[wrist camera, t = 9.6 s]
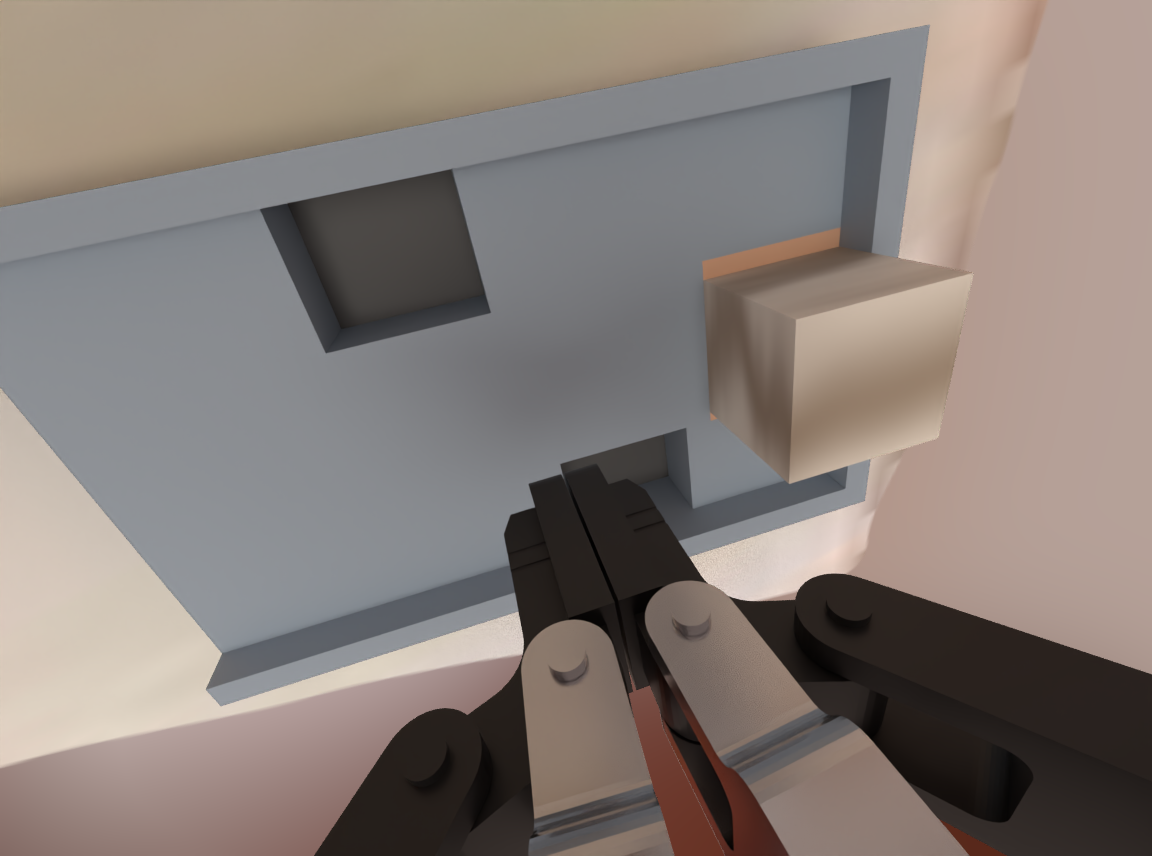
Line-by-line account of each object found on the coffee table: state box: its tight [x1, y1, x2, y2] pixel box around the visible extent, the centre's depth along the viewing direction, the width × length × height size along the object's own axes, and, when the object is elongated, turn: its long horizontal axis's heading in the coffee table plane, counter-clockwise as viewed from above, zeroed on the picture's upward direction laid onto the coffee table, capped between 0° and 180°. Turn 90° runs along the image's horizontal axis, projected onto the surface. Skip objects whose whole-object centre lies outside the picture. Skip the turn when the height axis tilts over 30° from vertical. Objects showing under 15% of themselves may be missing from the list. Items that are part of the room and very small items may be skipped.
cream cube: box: [703, 247, 974, 484], centre depth 16 cm, size 5×5×5 cm
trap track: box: [0, 25, 930, 706], centre depth 17 cm, size 16×26×4 cm, turn 101°
